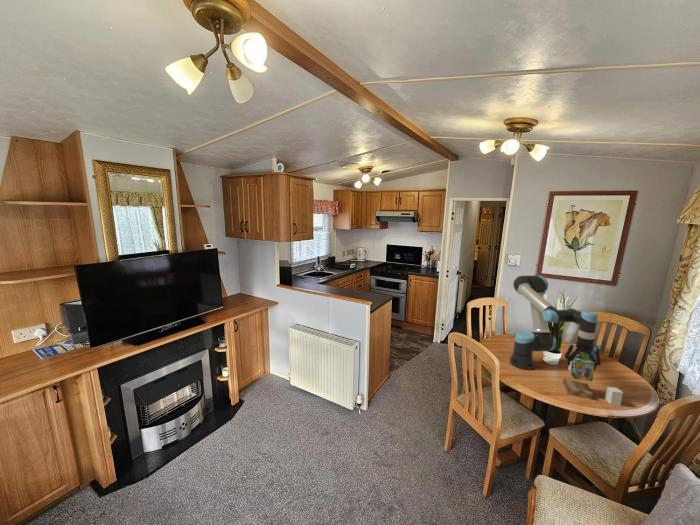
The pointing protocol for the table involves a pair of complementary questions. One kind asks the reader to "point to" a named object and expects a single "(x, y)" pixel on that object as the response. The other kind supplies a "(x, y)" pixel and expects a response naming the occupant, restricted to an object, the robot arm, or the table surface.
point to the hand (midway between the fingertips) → (580, 372)
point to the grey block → (613, 395)
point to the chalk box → (582, 368)
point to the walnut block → (577, 389)
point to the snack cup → (592, 352)
